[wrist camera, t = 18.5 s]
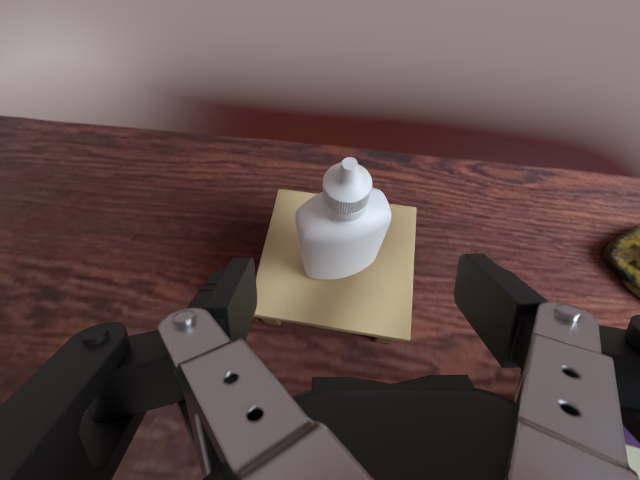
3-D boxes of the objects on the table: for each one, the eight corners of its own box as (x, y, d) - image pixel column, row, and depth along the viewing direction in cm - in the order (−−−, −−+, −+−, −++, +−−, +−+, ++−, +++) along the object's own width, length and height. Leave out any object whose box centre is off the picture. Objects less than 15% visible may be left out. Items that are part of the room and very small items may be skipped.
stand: (261, 326, 29) (246, 313, 23) (286, 220, 33) (278, 188, 28) (392, 348, 28) (410, 340, 23) (400, 237, 33) (416, 207, 27)
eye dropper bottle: (311, 226, 26) (302, 115, 15) (378, 241, 26) (419, 138, 15) (296, 275, 25) (274, 190, 14) (367, 293, 24) (405, 219, 13)
